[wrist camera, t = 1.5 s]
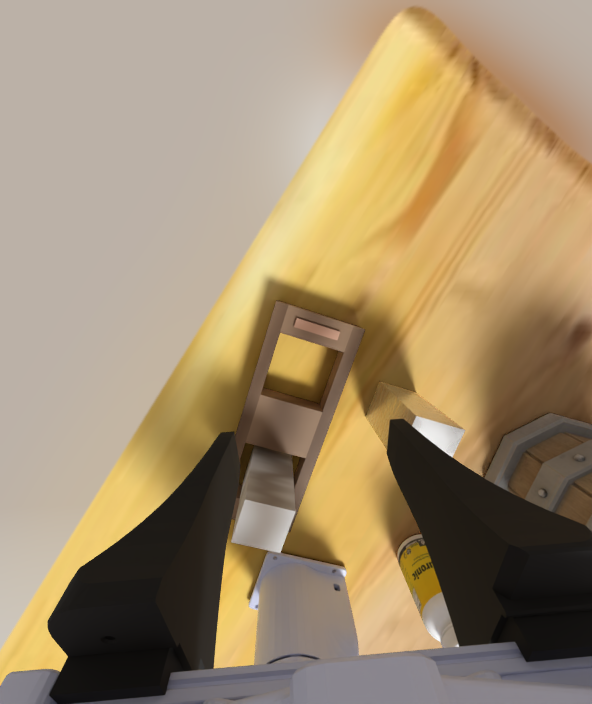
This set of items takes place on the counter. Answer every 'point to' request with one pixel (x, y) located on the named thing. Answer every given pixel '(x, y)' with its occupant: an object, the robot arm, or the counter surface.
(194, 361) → the counter surface
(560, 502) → the tankard
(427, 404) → the block
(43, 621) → the counter surface
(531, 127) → the counter surface
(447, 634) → the supplement bottle
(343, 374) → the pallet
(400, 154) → the counter surface
